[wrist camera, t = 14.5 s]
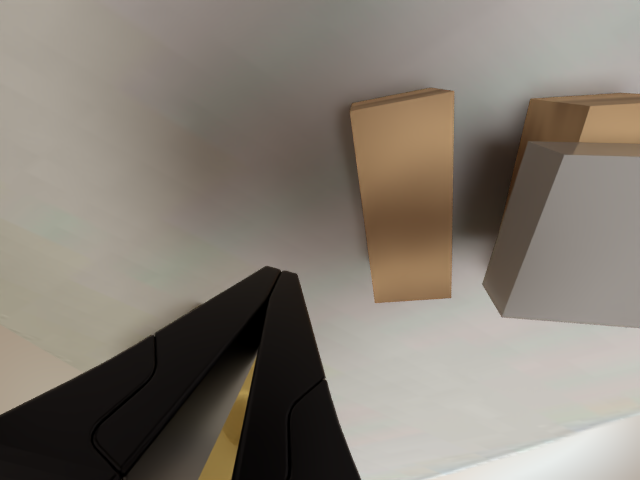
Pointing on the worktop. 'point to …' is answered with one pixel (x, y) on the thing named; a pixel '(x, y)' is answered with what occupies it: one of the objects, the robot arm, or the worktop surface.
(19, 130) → the worktop surface
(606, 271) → the slab
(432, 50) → the worktop surface
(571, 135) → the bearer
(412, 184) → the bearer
